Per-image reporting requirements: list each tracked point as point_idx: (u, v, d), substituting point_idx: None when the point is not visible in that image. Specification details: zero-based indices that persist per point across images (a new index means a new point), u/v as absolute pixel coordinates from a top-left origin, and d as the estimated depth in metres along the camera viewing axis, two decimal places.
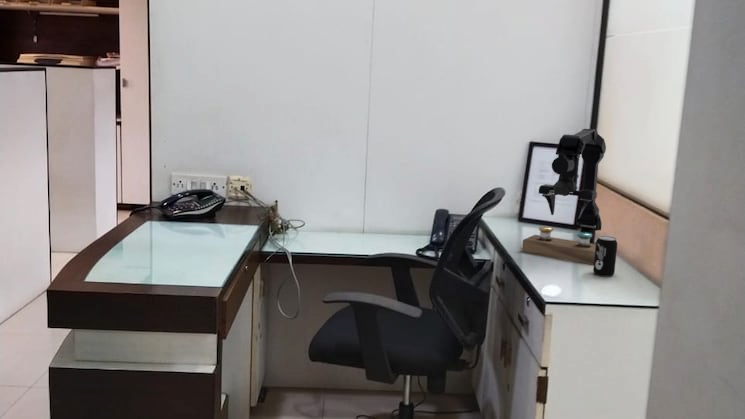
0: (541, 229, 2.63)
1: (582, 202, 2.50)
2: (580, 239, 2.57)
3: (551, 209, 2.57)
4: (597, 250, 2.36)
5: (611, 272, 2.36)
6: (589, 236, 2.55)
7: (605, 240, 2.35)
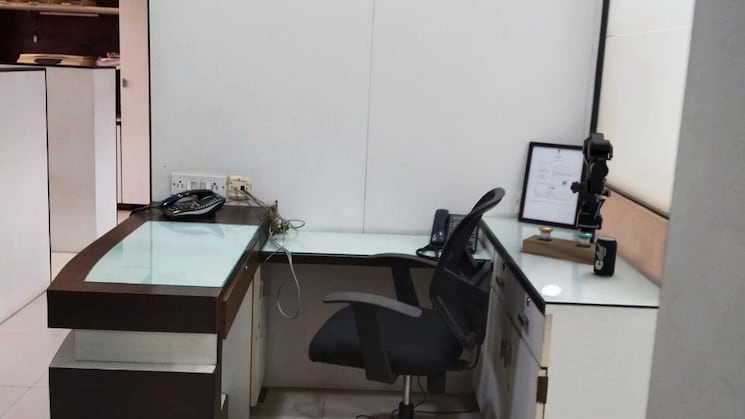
0: (541, 229, 2.63)
1: None
2: (580, 239, 2.57)
3: None
4: (597, 250, 2.36)
5: (611, 272, 2.36)
6: (589, 236, 2.55)
7: (605, 240, 2.35)
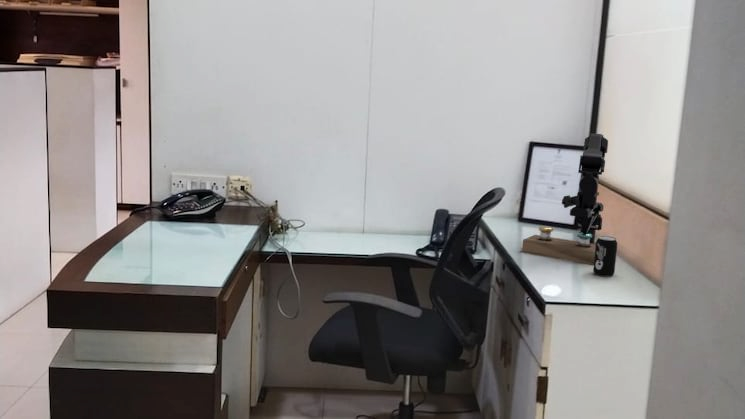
0: (541, 229, 2.63)
1: None
2: (580, 239, 2.57)
3: None
4: (597, 250, 2.36)
5: (611, 272, 2.36)
6: (589, 236, 2.55)
7: (605, 240, 2.35)
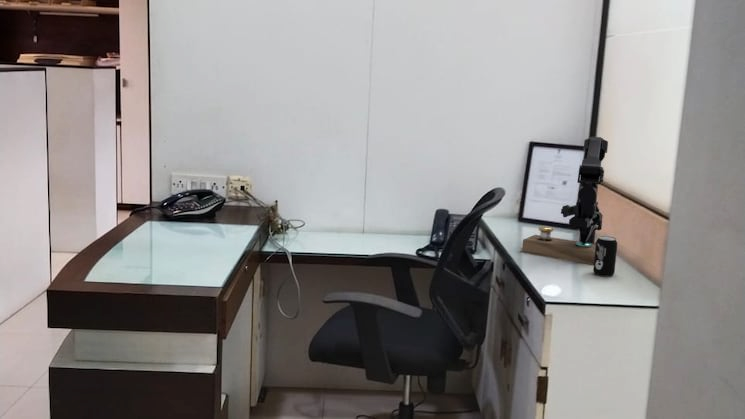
0: (541, 229, 2.63)
1: None
2: None
3: None
4: (597, 250, 2.36)
5: (611, 272, 2.36)
6: (588, 246, 2.56)
7: (605, 240, 2.35)
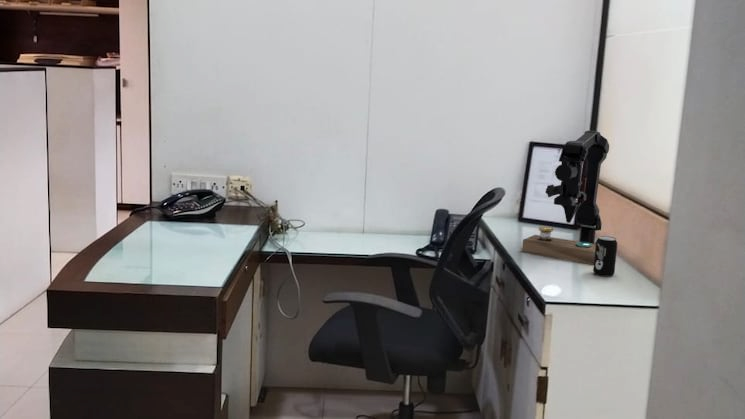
0: (541, 229, 2.63)
1: None
2: None
3: None
4: (597, 250, 2.36)
5: (611, 272, 2.36)
6: (588, 246, 2.56)
7: (605, 240, 2.35)
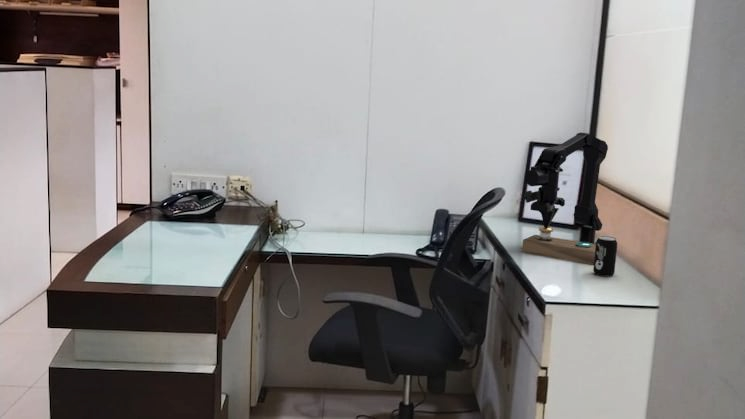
0: (541, 229, 2.63)
1: None
2: None
3: None
4: (597, 250, 2.36)
5: (611, 272, 2.36)
6: (588, 246, 2.56)
7: (605, 240, 2.35)
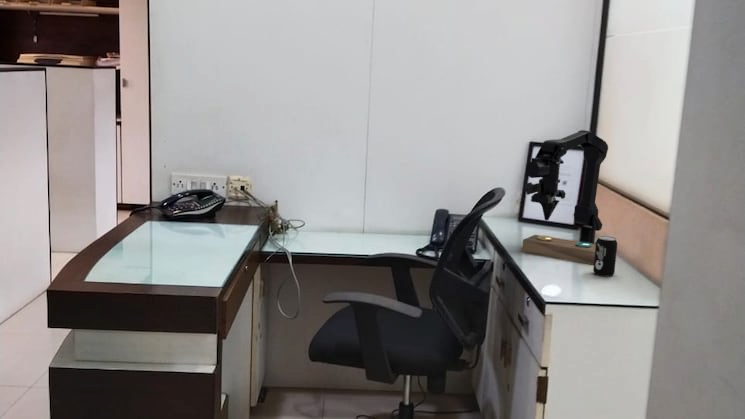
0: (540, 239, 2.64)
1: None
2: None
3: None
4: (597, 250, 2.36)
5: (611, 272, 2.36)
6: (588, 246, 2.56)
7: (605, 240, 2.35)
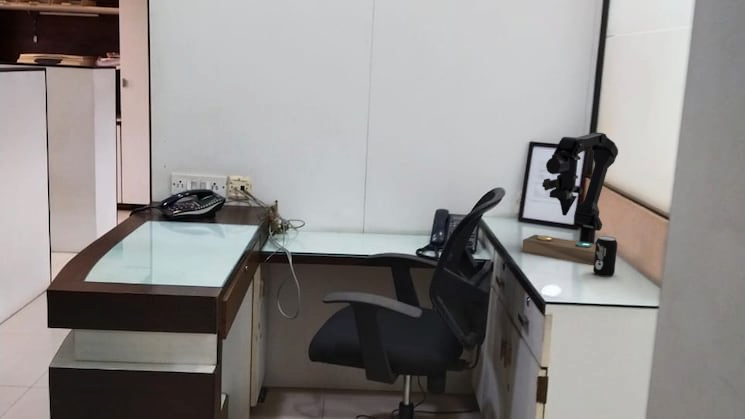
0: (540, 239, 2.64)
1: None
2: None
3: None
4: (597, 250, 2.36)
5: (611, 272, 2.36)
6: (588, 246, 2.56)
7: (605, 240, 2.35)
